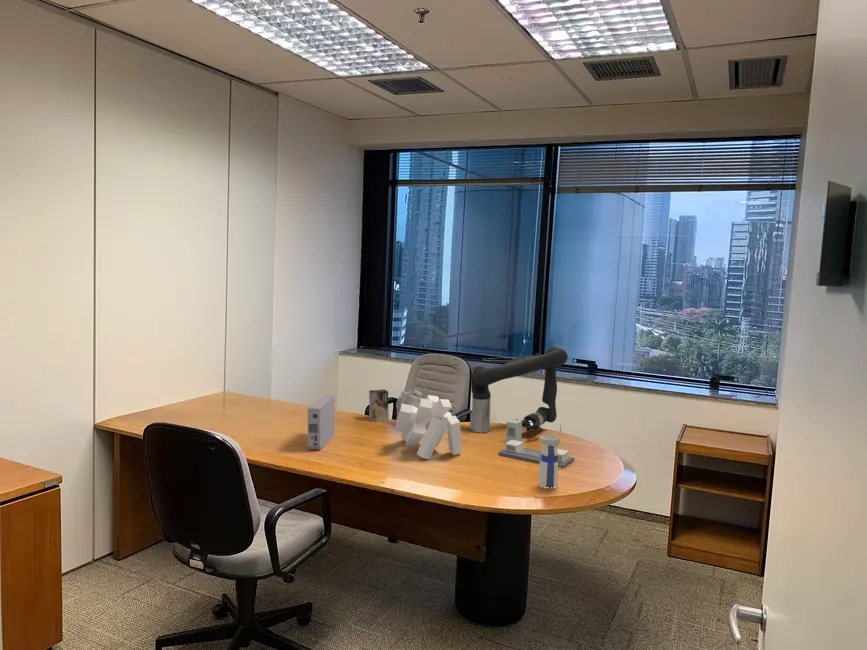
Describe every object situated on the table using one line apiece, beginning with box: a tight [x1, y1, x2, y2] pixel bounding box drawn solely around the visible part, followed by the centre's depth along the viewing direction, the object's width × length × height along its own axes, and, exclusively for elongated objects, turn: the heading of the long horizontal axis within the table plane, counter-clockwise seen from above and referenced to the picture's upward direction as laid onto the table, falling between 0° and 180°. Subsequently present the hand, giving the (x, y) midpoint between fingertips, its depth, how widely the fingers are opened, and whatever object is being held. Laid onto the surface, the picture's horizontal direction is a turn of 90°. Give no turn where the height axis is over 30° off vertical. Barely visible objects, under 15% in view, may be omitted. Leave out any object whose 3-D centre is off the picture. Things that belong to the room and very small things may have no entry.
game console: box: [307, 394, 335, 451], centre depth 299 cm, size 6×27×20 cm, turn 174°
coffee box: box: [368, 388, 389, 423], centre depth 342 cm, size 9×6×16 cm
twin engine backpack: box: [395, 389, 427, 422], centre depth 332 cm, size 18×19×20 cm
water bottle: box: [537, 424, 562, 488], centre depth 248 cm, size 8×9×25 cm
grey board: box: [497, 447, 576, 469], centre depth 282 cm, size 31×13×2 cm, turn 56°
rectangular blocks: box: [504, 440, 570, 462], centre depth 282 cm, size 28×7×3 cm, turn 56°
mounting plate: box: [503, 447, 570, 463], centre depth 282 cm, size 29×7×1 cm, turn 56°
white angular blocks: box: [394, 394, 463, 460], centre depth 287 cm, size 35×30×35 cm
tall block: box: [505, 418, 523, 443], centre depth 303 cm, size 5×6×11 cm
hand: (519, 427), depth 307 cm, fingers open, 8 cm apart
